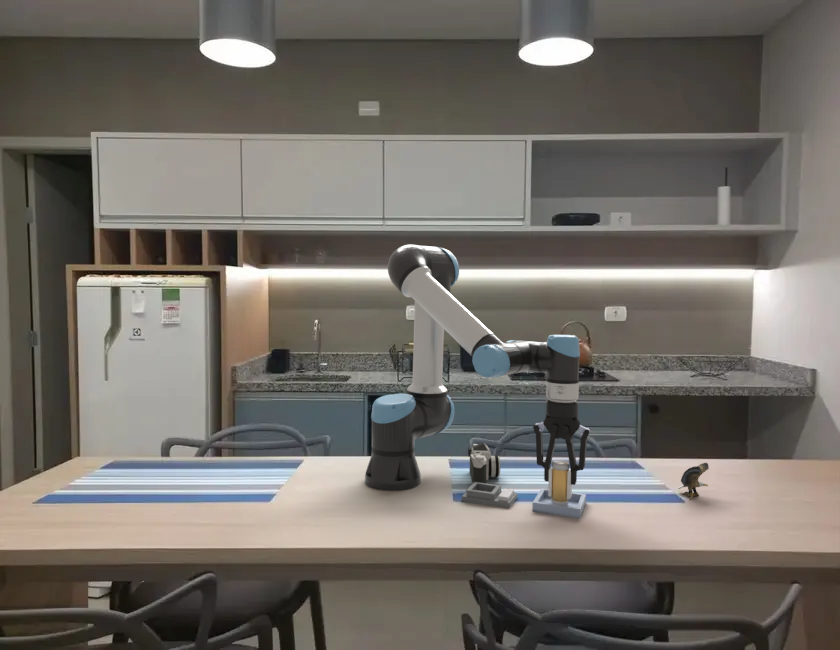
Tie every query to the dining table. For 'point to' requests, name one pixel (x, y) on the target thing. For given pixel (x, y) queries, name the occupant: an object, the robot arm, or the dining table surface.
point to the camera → (483, 463)
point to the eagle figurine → (693, 479)
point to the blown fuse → (559, 482)
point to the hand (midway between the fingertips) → (559, 495)
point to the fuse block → (489, 495)
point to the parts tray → (572, 510)
